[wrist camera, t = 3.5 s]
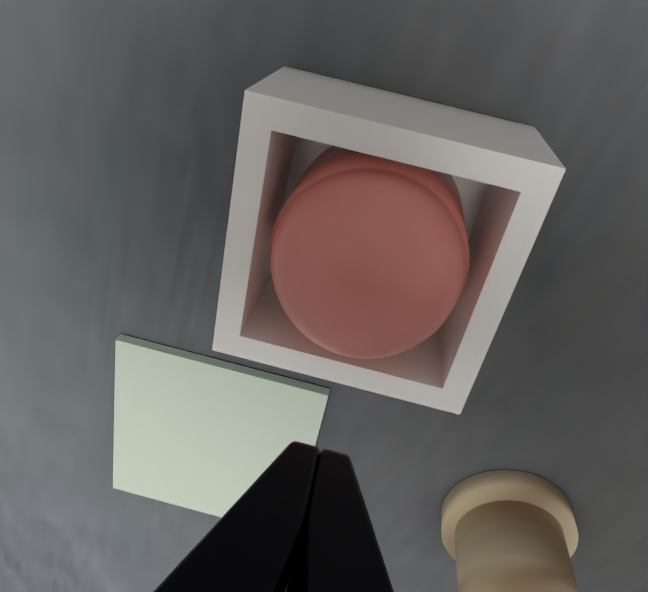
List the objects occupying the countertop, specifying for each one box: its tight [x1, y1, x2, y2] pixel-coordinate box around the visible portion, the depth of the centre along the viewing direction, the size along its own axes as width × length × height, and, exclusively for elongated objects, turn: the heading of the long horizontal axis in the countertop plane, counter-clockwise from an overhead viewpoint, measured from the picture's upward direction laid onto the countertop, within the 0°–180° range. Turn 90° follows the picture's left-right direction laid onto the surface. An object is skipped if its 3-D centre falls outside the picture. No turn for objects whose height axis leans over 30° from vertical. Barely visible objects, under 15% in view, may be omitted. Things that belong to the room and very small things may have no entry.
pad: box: [113, 334, 330, 517], centre depth 23 cm, size 8×8×1 cm
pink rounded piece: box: [270, 146, 470, 359], centre depth 15 cm, size 5×5×5 cm
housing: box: [212, 66, 566, 415], centre depth 16 cm, size 7×7×4 cm
